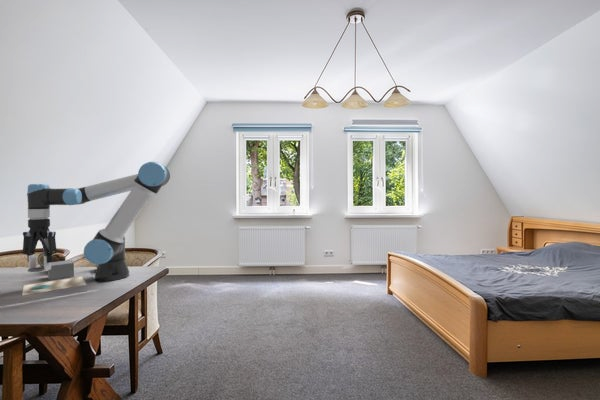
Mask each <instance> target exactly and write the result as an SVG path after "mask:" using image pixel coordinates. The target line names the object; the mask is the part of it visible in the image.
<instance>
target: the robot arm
mask: <svg viewBox="0 0 600 400" xmlns="http://www.w3.org/2000/svg"><path fill="white" fill-rule="evenodd" d="M170 179H171V174H170V170H169V169H168V168H167V166H165V165H163V164H162V163H160V162H158V161H157V162H156V161H147V162H145V163H143V164H142V165H141V166H140V167H139V169H138V173H136V174H132V175H128V176H123V177H120V178H116V179H111V180H107V181H103V182H98V183H95V184H91V185H87V186H84V187H83V186H82V187H78V188H71V187H70V188H69V187H68V188H50V185H49V184H47V183H30V184H28V185H27V193H26V197H27V218H28V220H27V227H28V229H29V230H28V231H23V232H22V237H23V242H22V244H23V245H22V254H23V255H26V256H27V263H28V269H31V268H37V256H36V255H37V254H36V253H35V251H36V248H37V245H38V242H41V245H42V248H43V250H44V251H45V254H46V255H44V271H45V272H46V271H48V270H50V269H51V262H52V255H55V254H58V253H57V252H58V251H57V242H56V231H50V228H49V227H50V226H51V219H50V217H51V215H50V211H51V210H50V208H51V206H75V205H77V206H78V205H83V204H86V203H89V202H92V201H96V200H99V199H104V198H107V197H112V196H116V195H120V194H124V193H128V192H129V193H128V195H127V196H126V198H125V199H124V200H123V202H122V203H121V205H120V206H119V207H118V209H117V210H116V212H115V213H114V215H113V216H112V218H111V219H110V221H109V222H108V223H107V225H106V226H105V228H102V229H99V230H98V232H97V233H96V234H95V236H94V237H93V239H91V240H89V241H88V242H87V243H86V244H85V246H84V249H83V255H84V258H85V260H86V261H88V262H89V263H91V264H92V265H96V264H98V267H97V268H96V270H95V274H94V280H95V281H97V282H108V281H110V282H111V281H118V280H121V279H125V278H128V277H129V276H130V269H129V267H128V265H127V261H126V236H125V234H126V233H127V231H128V230H129V229H130V228H131V227H132V225H133V223H134V222H135V220H136V218H137V217H138V215H139V214H140V213H141V212H142V210H143V208H145V206H146V204H147V203H148V201H149V200H150V199H151V197H152V196H153V195H158V192H160V190H161V188H162V187H163V186H165V185H167V184H168V182H169V180H170ZM44 251H43V252H44ZM44 271H43V272H44Z"/></svg>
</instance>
